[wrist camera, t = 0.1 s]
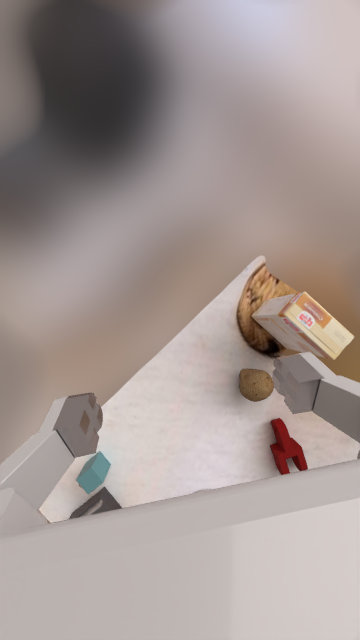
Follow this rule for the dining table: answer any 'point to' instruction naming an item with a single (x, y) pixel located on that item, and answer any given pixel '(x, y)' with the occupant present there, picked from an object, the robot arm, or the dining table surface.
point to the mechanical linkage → (286, 449)
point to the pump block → (93, 473)
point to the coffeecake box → (303, 325)
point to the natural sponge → (255, 384)
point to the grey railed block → (97, 505)
